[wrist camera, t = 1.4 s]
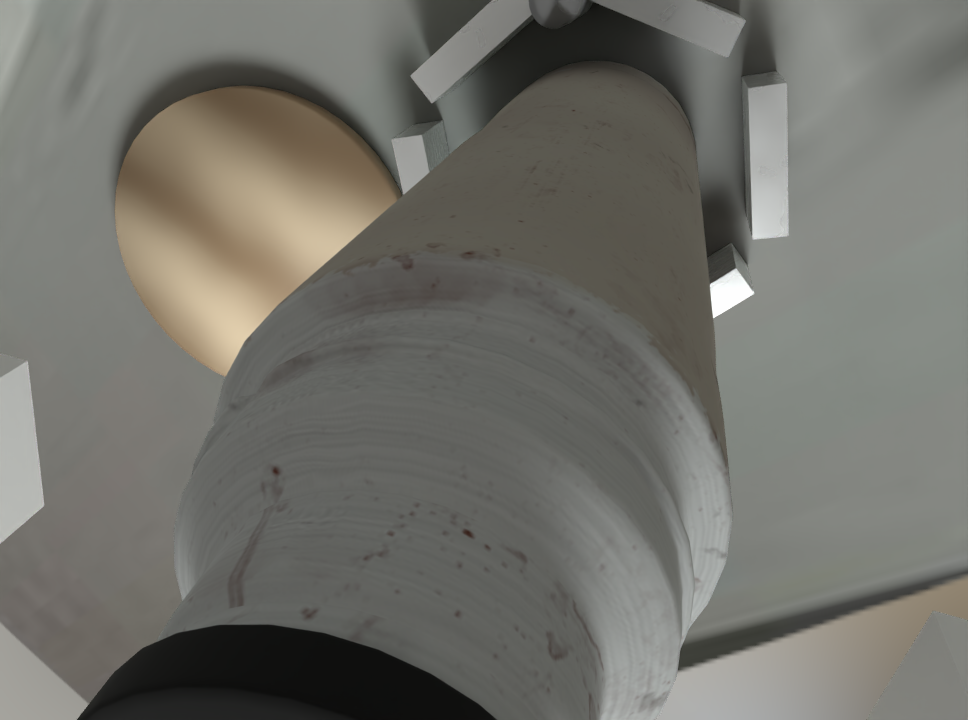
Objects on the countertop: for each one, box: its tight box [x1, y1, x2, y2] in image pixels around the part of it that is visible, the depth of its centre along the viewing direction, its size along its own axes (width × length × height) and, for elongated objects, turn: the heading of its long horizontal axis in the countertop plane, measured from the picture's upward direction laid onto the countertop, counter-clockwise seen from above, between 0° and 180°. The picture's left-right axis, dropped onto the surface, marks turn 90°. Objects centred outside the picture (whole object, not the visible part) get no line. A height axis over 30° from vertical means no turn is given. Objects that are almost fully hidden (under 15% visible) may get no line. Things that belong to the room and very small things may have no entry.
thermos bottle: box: [77, 61, 733, 720], centre depth 19 cm, size 8×8×28 cm
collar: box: [392, 0, 788, 318], centre depth 29 cm, size 14×14×5 cm
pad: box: [115, 86, 402, 377], centre depth 36 cm, size 14×14×1 cm
